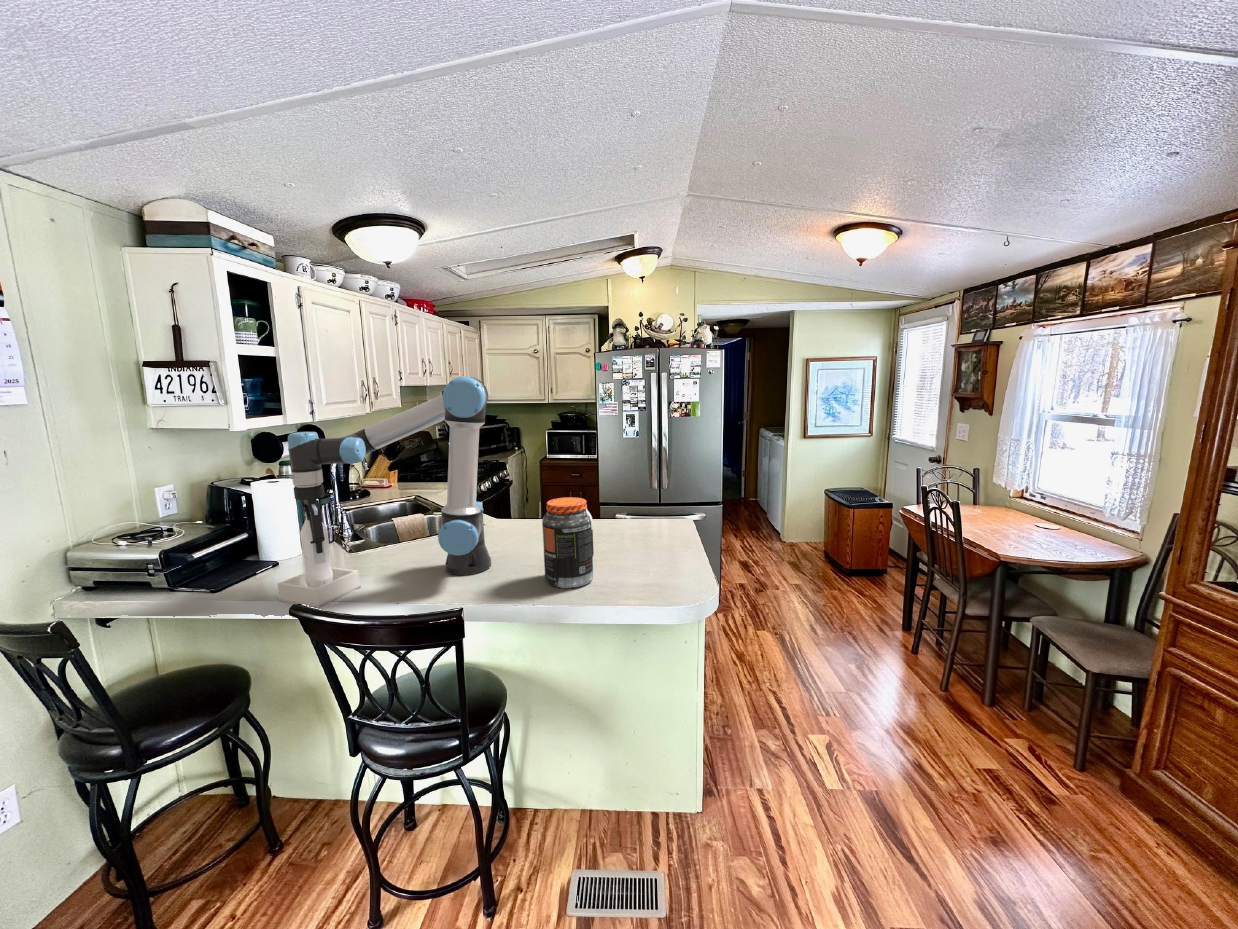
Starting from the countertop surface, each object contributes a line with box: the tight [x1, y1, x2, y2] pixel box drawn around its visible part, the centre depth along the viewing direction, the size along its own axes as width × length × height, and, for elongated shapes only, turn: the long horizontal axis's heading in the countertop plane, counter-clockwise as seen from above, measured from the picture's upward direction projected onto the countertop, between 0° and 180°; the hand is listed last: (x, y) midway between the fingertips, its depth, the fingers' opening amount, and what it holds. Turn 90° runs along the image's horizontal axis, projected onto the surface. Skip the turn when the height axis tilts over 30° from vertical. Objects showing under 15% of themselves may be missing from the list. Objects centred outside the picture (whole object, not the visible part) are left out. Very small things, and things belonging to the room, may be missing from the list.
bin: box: [277, 566, 361, 609], centre depth 151 cm, size 15×15×6 cm
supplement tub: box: [541, 496, 595, 589], centre depth 158 cm, size 16×16×26 cm
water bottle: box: [299, 512, 333, 588], centre depth 149 cm, size 7×7×25 cm
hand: (317, 559), depth 150 cm, fingers closed on water bottle, 7 cm apart
